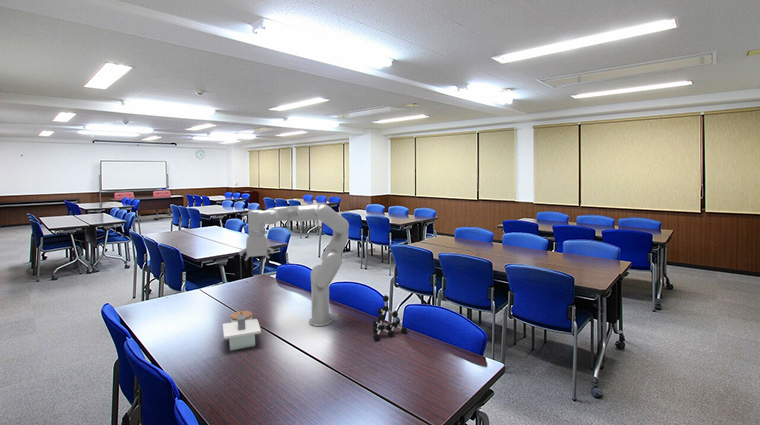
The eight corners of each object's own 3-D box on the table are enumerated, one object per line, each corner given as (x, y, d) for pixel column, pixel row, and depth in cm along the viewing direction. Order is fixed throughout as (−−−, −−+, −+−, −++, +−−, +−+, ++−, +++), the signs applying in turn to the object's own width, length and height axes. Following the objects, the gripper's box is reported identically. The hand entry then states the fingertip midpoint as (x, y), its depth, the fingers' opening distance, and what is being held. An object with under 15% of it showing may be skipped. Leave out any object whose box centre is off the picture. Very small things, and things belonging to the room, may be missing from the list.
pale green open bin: (252, 336, 186) (252, 323, 185) (255, 346, 176) (254, 331, 175) (228, 340, 181) (228, 326, 181) (230, 350, 171) (229, 335, 171)
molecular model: (374, 325, 202) (374, 289, 200) (408, 332, 193) (408, 294, 191) (357, 337, 187) (357, 298, 185) (393, 346, 177) (393, 305, 175)
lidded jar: (245, 334, 189) (245, 316, 188) (226, 332, 191) (226, 314, 190) (256, 325, 200) (256, 308, 199) (238, 323, 202) (238, 307, 201)
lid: (257, 320, 188) (256, 309, 188) (261, 332, 174) (260, 320, 173) (222, 325, 182) (222, 313, 181) (224, 339, 167) (223, 326, 167)
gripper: (272, 231, 197) (273, 263, 199) (237, 233, 190) (238, 266, 192) (274, 234, 190) (275, 266, 192) (238, 236, 183) (239, 270, 185)
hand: (257, 266), depth 192 cm, fingers open, 9 cm apart
